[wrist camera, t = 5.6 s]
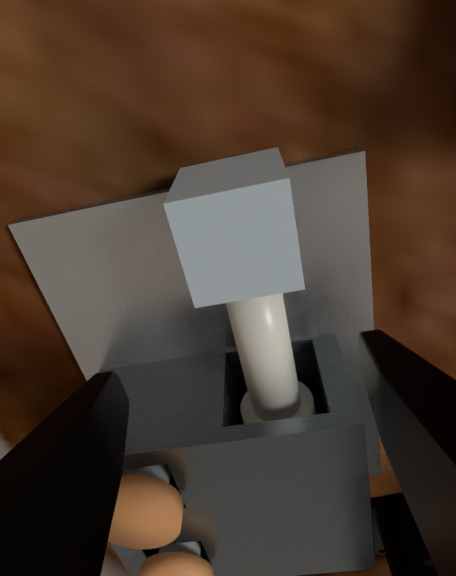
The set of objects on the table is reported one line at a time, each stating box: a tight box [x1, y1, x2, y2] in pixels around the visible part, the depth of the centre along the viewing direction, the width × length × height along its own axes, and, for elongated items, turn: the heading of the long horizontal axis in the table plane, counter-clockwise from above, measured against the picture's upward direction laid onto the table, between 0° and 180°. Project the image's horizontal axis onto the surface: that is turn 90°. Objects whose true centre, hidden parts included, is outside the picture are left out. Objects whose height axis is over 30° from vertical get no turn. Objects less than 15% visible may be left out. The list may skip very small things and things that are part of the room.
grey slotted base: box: [8, 148, 381, 576], centre depth 21 cm, size 21×16×7 cm
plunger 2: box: [139, 541, 214, 576], centre depth 22 cm, size 4×4×4 cm
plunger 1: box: [108, 464, 184, 549], centre depth 20 cm, size 4×4×4 cm
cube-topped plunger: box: [163, 147, 316, 424], centre depth 20 cm, size 20×4×4 cm, turn 12°
